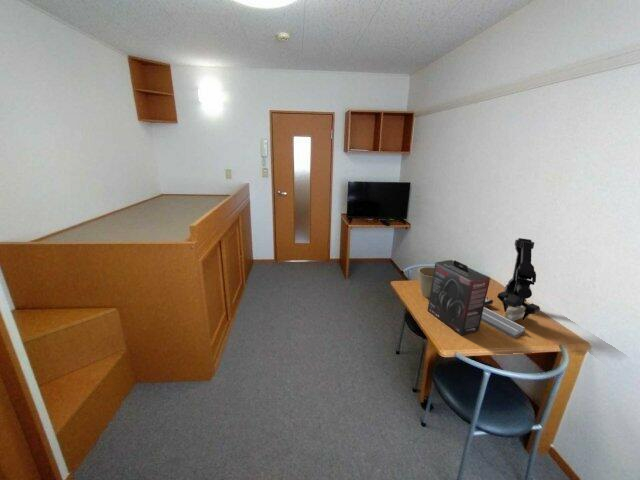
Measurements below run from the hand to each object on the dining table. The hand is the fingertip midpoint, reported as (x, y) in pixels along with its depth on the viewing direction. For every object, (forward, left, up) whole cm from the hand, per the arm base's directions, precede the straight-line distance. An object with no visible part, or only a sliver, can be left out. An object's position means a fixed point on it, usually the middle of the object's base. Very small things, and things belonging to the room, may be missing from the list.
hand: (514, 315), depth 154 cm
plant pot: (+22, -39, -2) cm, 45 cm away
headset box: (+32, -14, -2) cm, 35 cm away
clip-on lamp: (+6, -20, -2) cm, 21 cm away
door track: (+13, -2, -2) cm, 13 cm away
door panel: (0, 0, -2) cm, 2 cm away
